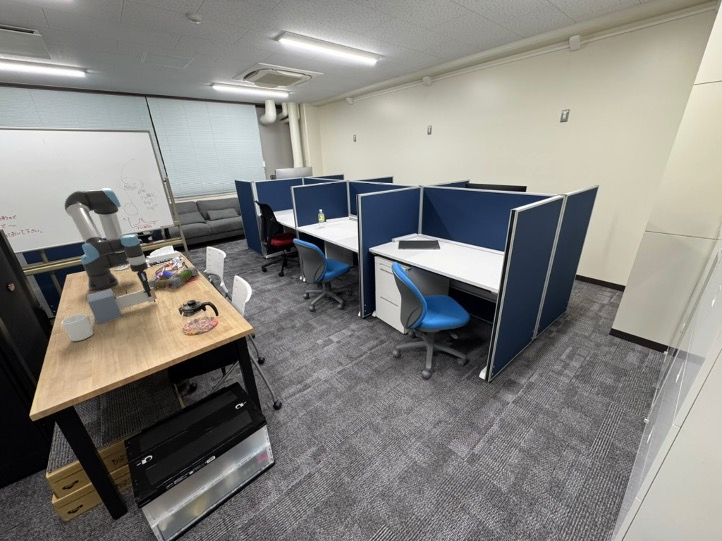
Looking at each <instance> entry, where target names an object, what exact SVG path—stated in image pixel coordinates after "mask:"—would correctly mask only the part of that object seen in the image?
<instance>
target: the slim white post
mask: <svg viewBox="0 0 722 541" xmlns="http://www.w3.org/2000/svg"><path fill="white" fill-rule="evenodd" d="M150 289H151V293H152V295H153V298H154V300H157V299H158V297H157V294H156V291H155V290H154V288H153V287H152V288H150ZM144 291H145V290H144V289H141V290H139V291H134V292H131V293H127V294H123V295H120V296H117V297H116V299H115V300H116V303H117V305H118V308H119V310H120V311H121V310H122V309H127V308H129V307H133V306H136V305H140V304H143V303H147V302H148V299H147V296H146V293H144Z"/></svg>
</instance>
